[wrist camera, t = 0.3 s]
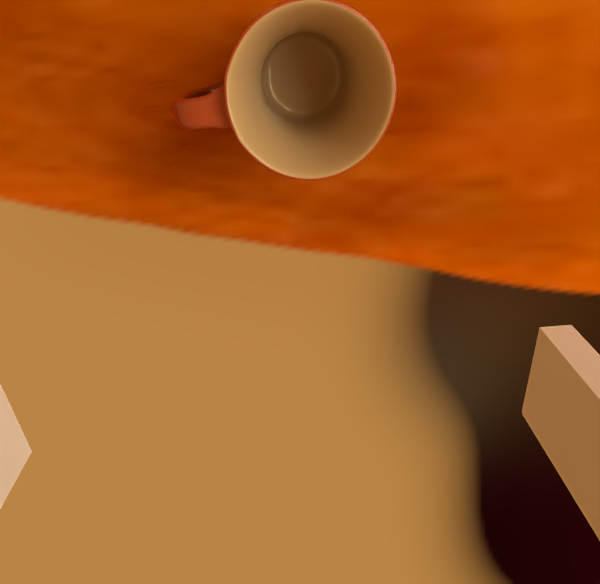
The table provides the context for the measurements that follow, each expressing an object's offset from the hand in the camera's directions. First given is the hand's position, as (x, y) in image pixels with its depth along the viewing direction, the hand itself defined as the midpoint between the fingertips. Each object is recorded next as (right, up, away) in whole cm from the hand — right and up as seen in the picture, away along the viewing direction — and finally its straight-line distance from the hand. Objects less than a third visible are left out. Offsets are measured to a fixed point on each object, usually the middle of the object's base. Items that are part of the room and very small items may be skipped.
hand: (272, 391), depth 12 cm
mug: (-1, +17, +22) cm, 28 cm away
